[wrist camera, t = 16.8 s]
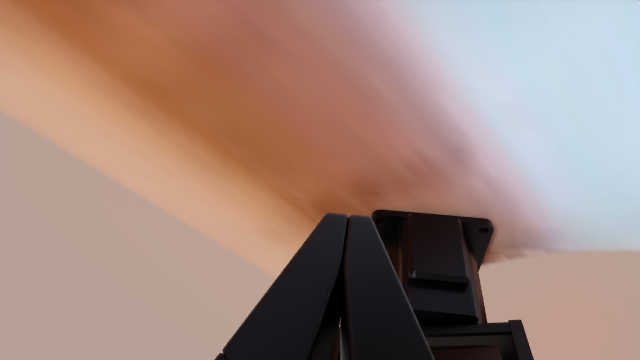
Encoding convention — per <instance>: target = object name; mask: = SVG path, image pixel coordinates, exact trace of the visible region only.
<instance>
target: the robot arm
mask: <svg viewBox="0 0 640 360" xmlns="http://www.w3.org/2000/svg"><path fill="white" fill-rule="evenodd" d="M378 218H383V219H378ZM482 227H485V228H482ZM492 233H493V225H492V222H491V221H490V220H488V219H483V218H472V217H460V216H448V215H437V214H425V213H414V212H402V211H390V210H376V211H374V212H373V213H372V216H371V217H369V216H361V215H351V216H350V217H349V219H348V216H347V215H346V214H338V213H327V214H326V215H325V216H324V217H323V218H322V220H321V221H320V222H319V224H318V225H317V226H316V228H315V229H314V230H313V232H312V233H311V234H310V236H309V237H308V238H307V239H306V241H305V242H304V243H303V245H302V246H301V247H300V249H299V250H298V251H297V253H296V254H295V255H294V256H293V258H292V259H291V260H290V262H289V263H288V264H287V266H286V267H285V268H284V270H283V271H282V272H281V274H280V275H279V276H278V277H277V279H276V280H275V281H274V283H273V284H272V285H271V287H270V288H269V289H268V291H267V292H266V293H265V294H264V296H263V297H262V298H261V300H260V301H259V302H258V304H257V305H256V306H255V308H254V309H253V310H252V312H251V313H250V314H249V315H248V317H247V318H246V319H245V321H244V322H243V323H242V325H241V326H240V327H239V329H238V330H237V331H236V333H235V334H234V335H233V337H232V338H231V339H230V340H229V342H228V343H227V344H226V346H225V347H224V349H223V353H220V354H219V355H218V356H217V357H216V358H215V360H534V359H533V356H532V353H531V349H530V346H529V343H528V340H527V337H526V334H525V330H524V327H523V324H522V321H521V320H509V321H508V322H503V323H487V319H486V313H485V307H484V302H483V296H482V290H481V285H480V279H479V274H478V272H479V269H480V266H481V263H482V261H483V258H484V255H485V252H486V250H487V247H488V244H489V241H490V239H491V236H492ZM340 317H341V320H340ZM340 322H341V323H340ZM339 325H340V327H339Z"/></svg>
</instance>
